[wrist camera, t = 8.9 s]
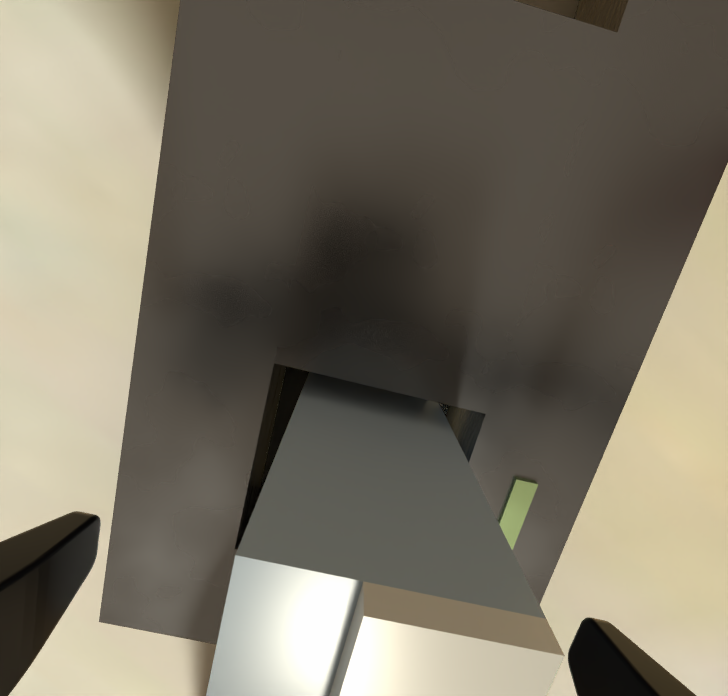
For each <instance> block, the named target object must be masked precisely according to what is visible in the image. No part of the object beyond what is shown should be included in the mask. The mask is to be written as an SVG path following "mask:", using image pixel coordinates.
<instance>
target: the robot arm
mask: <svg viewBox="0 0 728 696" xmlns="http://www.w3.org/2000/svg"><path fill="white" fill-rule="evenodd" d="M99 532H100V518H99V517H98V516H97V515H93V514H89V513H84V512H77V511H76V512H72V513H69V514H66V515H64V516H62V517H59V518H57V519H54V520H52V521H50V522H47V523H45V524H42V525H40V526H38V527H35V528H33V529H30V530H28V531H26V532H23V533H21V534H18V535H16V536H14V537H11V538H9V539H6V540H4V541H2V542H0V696H8V695H9V694H10V693H11V691H12V690H13V689H14V687H15V686H16V685H17V683H18V682H19V681H20V679H21V678H22V676H23V675H24V674H25V672H26V671H27V670H28V668H29V667H30V665H31V664H32V662H33V661H34V659H35V658H36V656H37V655H38V653H39V652H40V650H41V649H42V647H43V646H44V644H45V642H46V641H47V639H48V638H49V636H50V634H51V633H52V631H53V630H54V628H55V626H56V625H57V623H58V622H59V620H60V618H61V617H62V615H63V614H64V612H65V610H66V609H67V607H68V606H69V604H70V602H71V601H72V599H73V598H74V596H75V595H76V593H77V591H78V590H79V588H80V587H81V585H82V583H83V582H84V580H85V579H86V577H87V575H88V574H89V572H90V570H91V569H92V567H93V565H94V562H95V559H96V556H97V549H98V541H99ZM568 663H569V668H570V672H571V675H572V679H573V682H574V686H575V689H576V693H577V696H696V695H695V694H694V693H693V692H691V691H690V690H689V689H688V688H687V687H685V686H684V685H683V684H682V683H681V682H680V681H678V680H677V679H676V678H675V677H674V676H672V675H671V674H670V673H669V672H668V671H667V670H665V669H664V668H663V667H662V666H661V665H659V664H658V663H657V662H656V661H655V660H654V659H652V658H651V657H650V656H649V655H648V654H646V653H645V652H644V651H643V650H642V649H641V648H639V647H638V646H637V645H636V644H635V643H633V642H632V641H631V640H630V639H629V638H628V637H626V636H625V635H624V634H623V633H622V632H620V631H619V630H618V629H617V628H616V627H615V626H613V625H612V624H611V623H609V622H607V621H604V620H599V619H594V618H585V619H584V620H583V621H582V622H581V624H580V627H579V629H578V631H577V633H576V635H575V637H574V640H573V642H572V644H571V646H570V649H569V652H568Z"/></svg>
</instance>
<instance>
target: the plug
mask: <svg viewBox="0 0 728 696" xmlns="http://www.w3.org/2000/svg"><path fill="white" fill-rule="evenodd" d="M563 658H564V654H563V652H562V650H561V648H560V646H559V644H558V642H557V640H556V638H555V636H554V634H553V632H552V630H551V628H550V626H549V624H548V622H547V619H546V617H545V615H544V613H543V611H542V609H541V607H540V605H539V603H538V601H537V599H536V597H535V595H534V593H533V591H532V589H531V587H530V585H529V583H528V581H527V579H526V577H525V575H524V573H523V571H522V569H521V567H520V565H519V563H518V561H517V559H516V557H515V555H514V553H513V551H512V549H511V547H510V545H509V543H508V541H507V539H506V537H505V535H504V533H503V531H502V529H501V527H500V525H499V523H498V521H497V519H496V517H495V515H494V513H493V511H492V509H491V507H490V505H489V503H488V501H487V499H486V497H485V495H484V493H483V491H482V489H481V487H480V485H479V483H478V481H477V479H476V477H475V475H474V473H473V471H472V469H471V467H470V465H469V463H468V461H467V459H466V456H465V454H464V452H463V450H462V448H461V446H460V444H459V442H458V440H457V438H456V436H455V434H454V432H453V430H452V428H451V426H450V424H449V422H448V420H447V418H446V416H445V414H444V412H443V410H442V408H441V406H440V404H439V403H438V402H434V401H430V400H425V399H421V398H417V397H413V396H409V395H405V394H400V393H396V392H392V391H388V390H384V389H380V388H375V387H371V386H367V385H363V384H359V383H354V382H350V381H346V380H342V379H338V378H334V377H329V376H325V375H321V374H317V373H313V372H309V374H308V376H307V379H306V381H305V384H304V386H303V389H302V391H301V394H300V396H299V399H298V401H297V404H296V406H295V409H294V411H293V414H292V416H291V419H290V421H289V423H288V426H287V428H286V431H285V433H284V436H283V438H282V441H281V443H280V446H279V448H278V451H277V453H276V456H275V458H274V461H273V463H272V466H271V468H270V471H269V473H268V475H267V478H266V480H265V483H264V485H263V488H262V490H261V493H260V495H259V498H258V500H257V503H256V505H255V508H254V510H253V513H252V515H251V518H250V520H249V523H248V525H247V528H246V530H245V532H244V535H243V537H242V540H241V542H240V545H239V547H238V550H237V552H236V555H235V559H234V564H233V569H232V574H231V578H230V583H229V588H228V593H227V597H226V602H225V607H224V612H223V617H222V621H221V626H220V631H219V636H218V640H217V645H216V650H215V655H214V660H213V664H212V669H211V674H210V679H209V683H208V688H207V693H206V696H547V694H548V691H549V689H550V687H551V685H552V683H553V680H554V678H555V676H556V674H557V672H558V669H559V667H560V665H561V663H562V661H563Z"/></svg>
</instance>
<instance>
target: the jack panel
mask: <svg viewBox="0 0 728 696" xmlns="http://www.w3.org/2000/svg"><path fill="white" fill-rule="evenodd" d="M727 163H728V0H580V2H579V5H578V8H577V11H576V14H575V18H574V19H572V18H569V17H566V16H562V15H559V14H556V13H553V12H550V11H546V10H543V9H540V8H537V7H533V6H530V5H527V4H524V3H521V2H517V1H514V0H180V7H179V15H178V23H177V30H176V38H175V45H174V53H173V61H172V68H171V76H170V84H169V91H168V99H167V107H166V114H165V122H164V129H163V137H162V145H161V152H160V160H159V168H158V175H157V183H156V191H155V198H154V206H153V214H152V221H151V229H150V236H149V244H148V252H147V259H146V267H145V275H144V282H143V290H142V298H141V305H140V313H139V320H138V328H137V336H136V343H135V351H134V359H133V366H132V374H131V382H130V389H129V397H128V405H127V412H126V420H125V427H124V435H123V443H122V450H121V458H120V466H119V473H118V481H117V489H116V496H115V504H114V511H113V519H112V527H111V534H110V542H109V550H108V557H107V565H106V573H105V580H104V588H103V596H102V603H101V611H100V618H99V622H103V623H108V624H113V625H118V626H123V627H129V628H134V629H139V630H144V631H149V632H154V633H160V634H165V635H170V636H175V637H180V638H186V639H191V640H196V641H201V642H206V643H212V644H217V640H218V636H219V631H220V626H221V621H222V617H223V612H224V607H225V602H226V597H227V593H228V588H229V583H230V578H231V574H232V569H233V564H234V559H235V555H236V552H237V550H238V547H239V545H240V542H241V540H242V537H243V535H244V532H245V530H246V528H247V525H248V523H249V520H250V518H251V515H252V513H253V510H254V508H255V505H256V503H257V500H258V498H259V495H260V493H261V490H262V488H261V487H260V486H261V481H262V476H263V472H264V467H265V463H266V458H267V454H268V449H269V445H270V440H271V436H272V431H273V427H274V422H275V418H276V413H277V408H278V404H279V399H280V395H281V390H282V386H283V381H284V377H285V372H286V368H287V366H288V367H292V368H296V369H300V370H304V371H309V372H313V373H317V374H321V375H325V376H329V377H334V378H338V379H342V380H346V381H350V382H354V383H359V384H363V385H367V386H371V387H375V388H380V389H384V390H388V391H392V392H396V393H400V394H405V395H409V396H413V397H417V398H421V399H425V400H430V401H434V402H438V403H442V404H446V405H450V406H449V409H448V412H447V415H446V418H447V420H448V422H449V424H450V426H451V428H452V430H453V432H454V434H455V436H456V438H457V440H458V442H459V444H460V446H461V448H462V450H463V452H464V454H465V456H466V459H467V461H468V463H469V465H470V467H471V469H472V471H473V473H474V475H475V477H476V479H477V481H478V483H479V485H480V487H481V489H482V491H483V493H484V495H485V497H486V499H487V501H488V503H489V505H490V507H491V509H492V511H493V513H494V515H495V517H496V519H497V521H498V523H499V525H500V527H501V529H502V531H503V533H504V535H505V537H506V539H507V541H508V543H509V545H510V547H511V549H512V551H513V553H514V555H515V557H516V559H517V561H518V563H519V565H520V567H521V569H522V571H523V573H524V575H525V577H526V579H527V581H528V583H529V585H530V587H531V589H532V591H533V593H534V595H535V597H536V599H537V601H538V603H539V604H540V602H541V600H542V597H543V595H544V593H545V590H546V588H547V586H548V583H549V581H550V579H551V576H552V574H553V572H554V569H555V567H556V565H557V562H558V560H559V557H560V555H561V553H562V550H563V548H564V546H565V543H566V541H567V539H568V536H569V534H570V532H571V529H572V527H573V525H574V522H575V520H576V518H577V515H578V513H579V511H580V508H581V506H582V503H583V501H584V499H585V496H586V494H587V492H588V489H589V487H590V485H591V482H592V480H593V478H594V475H595V473H596V471H597V468H598V466H599V464H600V461H601V459H602V456H603V454H604V452H605V449H606V447H607V445H608V442H609V440H610V438H611V435H612V433H613V431H614V428H615V426H616V424H617V421H618V419H619V417H620V414H621V412H622V410H623V407H624V405H625V402H626V400H627V398H628V395H629V393H630V391H631V388H632V386H633V384H634V381H635V379H636V377H637V374H638V372H639V370H640V367H641V365H642V363H643V360H644V358H645V355H646V353H647V351H648V348H649V346H650V344H651V341H652V339H653V337H654V334H655V332H656V330H657V327H658V325H659V323H660V320H661V318H662V316H663V313H664V311H665V309H666V306H667V304H668V301H669V299H670V297H671V294H672V292H673V290H674V287H675V285H676V283H677V280H678V278H679V276H680V273H681V271H682V269H683V266H684V264H685V262H686V259H687V257H688V254H689V252H690V250H691V247H692V245H693V243H694V240H695V238H696V236H697V233H698V231H699V229H700V226H701V224H702V222H703V219H704V217H705V215H706V212H707V210H708V208H709V205H710V203H711V200H712V198H713V196H714V193H715V191H716V189H717V186H718V184H719V182H720V179H721V177H722V175H723V172H724V170H725V168H726V165H727Z"/></svg>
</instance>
